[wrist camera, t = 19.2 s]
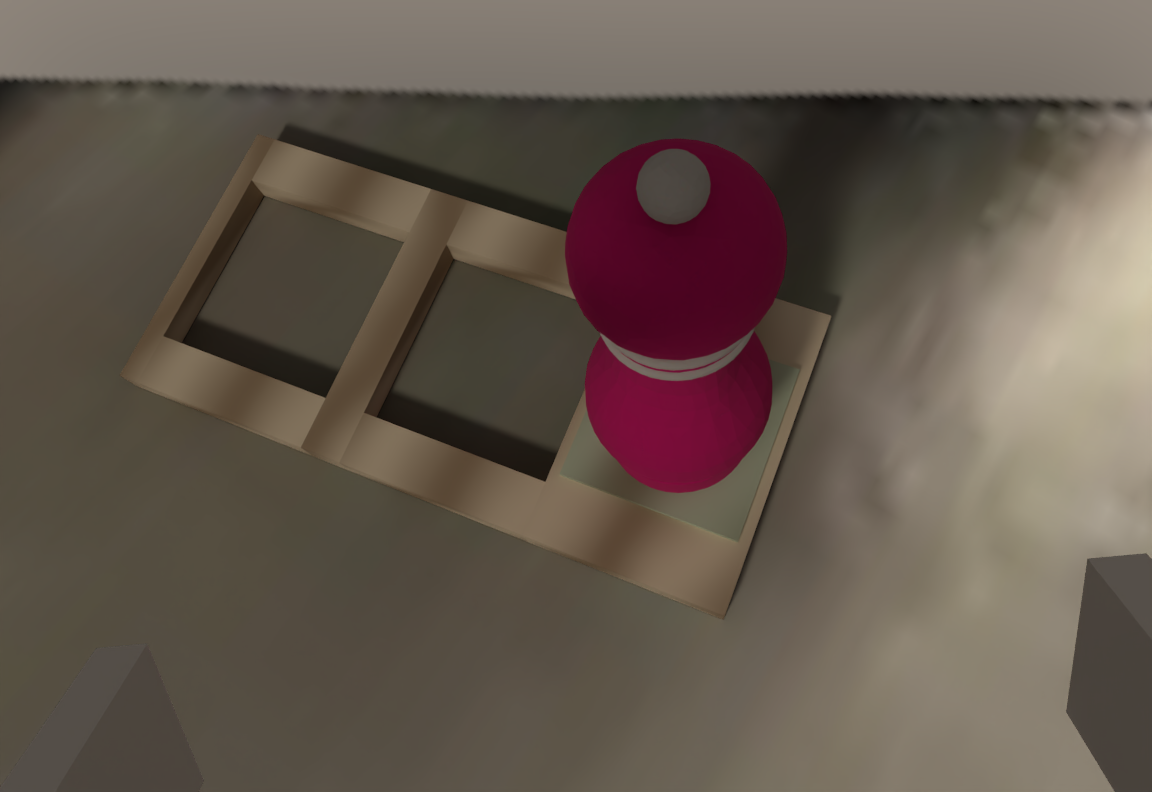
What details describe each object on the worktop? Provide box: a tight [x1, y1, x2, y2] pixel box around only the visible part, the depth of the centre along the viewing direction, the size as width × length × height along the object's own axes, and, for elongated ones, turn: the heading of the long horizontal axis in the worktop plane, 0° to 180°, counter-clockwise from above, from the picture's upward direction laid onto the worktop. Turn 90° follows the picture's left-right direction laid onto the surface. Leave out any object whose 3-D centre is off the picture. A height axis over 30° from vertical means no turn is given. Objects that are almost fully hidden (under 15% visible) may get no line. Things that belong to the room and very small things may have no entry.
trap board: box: [120, 134, 831, 619], centre depth 44 cm, size 30×14×2 cm, turn 68°
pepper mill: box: [565, 139, 787, 493], centre depth 31 cm, size 7×7×20 cm
